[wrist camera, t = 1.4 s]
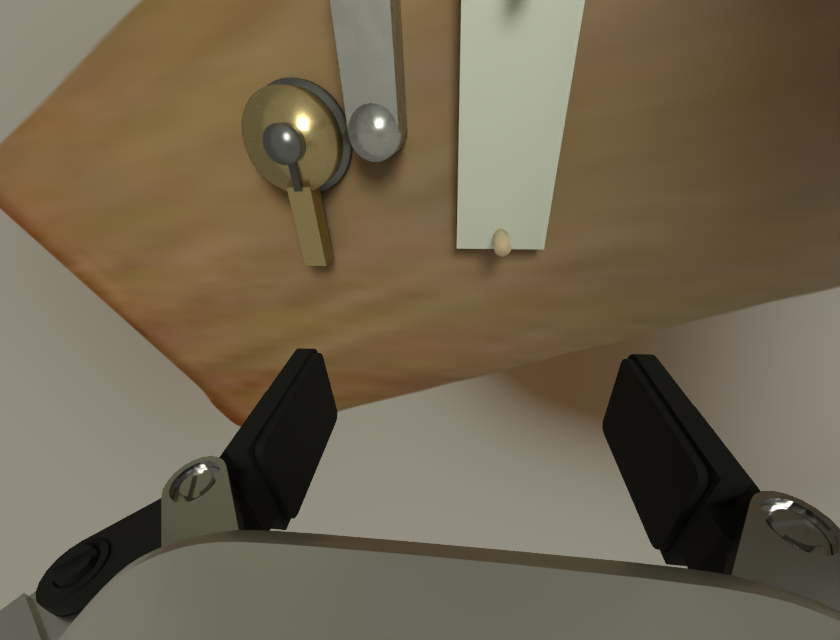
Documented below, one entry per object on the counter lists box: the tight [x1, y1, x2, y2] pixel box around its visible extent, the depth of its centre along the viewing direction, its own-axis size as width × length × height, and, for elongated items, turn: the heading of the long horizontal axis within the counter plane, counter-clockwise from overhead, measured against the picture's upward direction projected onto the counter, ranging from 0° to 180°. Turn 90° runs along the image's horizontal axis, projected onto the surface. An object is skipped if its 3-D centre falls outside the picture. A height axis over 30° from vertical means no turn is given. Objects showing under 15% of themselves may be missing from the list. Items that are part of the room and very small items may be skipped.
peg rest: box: [457, 0, 585, 256], centre depth 26 cm, size 20×8×5 cm, turn 2°
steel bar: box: [330, 0, 407, 162], centre depth 25 cm, size 4×14×4 cm, turn 2°
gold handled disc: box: [242, 84, 343, 266], centre depth 30 cm, size 15×8×3 cm, turn 2°
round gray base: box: [267, 78, 353, 191], centre depth 30 cm, size 9×9×1 cm
